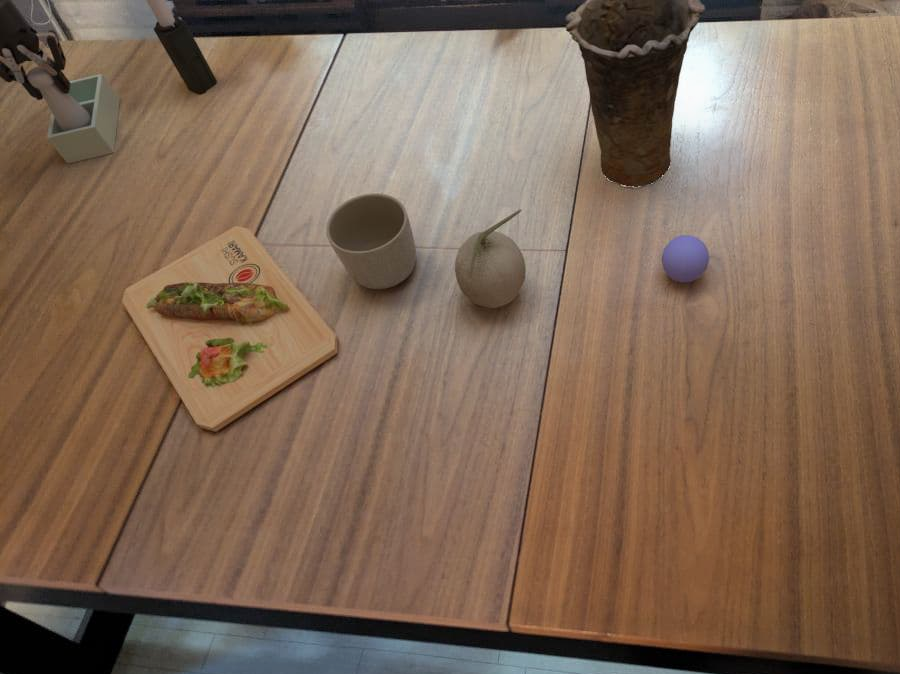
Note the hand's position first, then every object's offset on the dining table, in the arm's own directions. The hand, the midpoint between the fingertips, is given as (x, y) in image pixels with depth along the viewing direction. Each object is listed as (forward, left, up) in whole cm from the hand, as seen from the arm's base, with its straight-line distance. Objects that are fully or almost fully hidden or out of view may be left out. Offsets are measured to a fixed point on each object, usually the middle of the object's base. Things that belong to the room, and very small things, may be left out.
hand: (53, 93), depth 131 cm
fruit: (+69, -64, -11) cm, 95 cm away
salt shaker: (0, 0, -8) cm, 8 cm away
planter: (+53, -53, -11) cm, 76 cm away
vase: (+98, -42, -11) cm, 107 cm away
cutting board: (+27, -56, -11) cm, 63 cm away
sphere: (+98, -69, -11) cm, 120 cm away
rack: (0, +4, -11) cm, 12 cm away
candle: (+22, +11, -11) cm, 27 cm away
